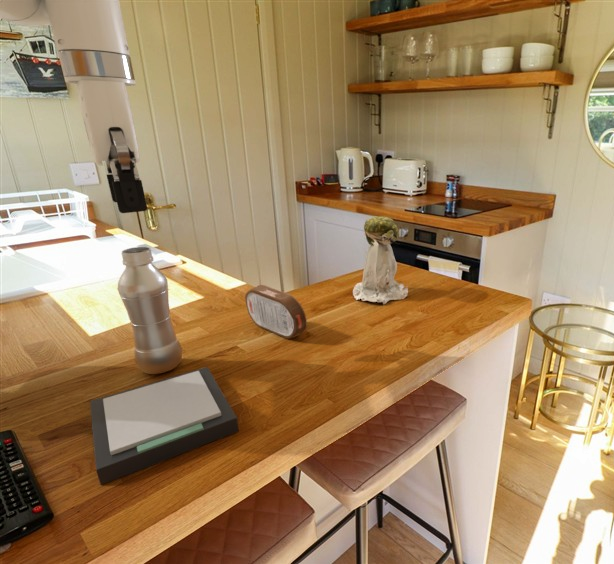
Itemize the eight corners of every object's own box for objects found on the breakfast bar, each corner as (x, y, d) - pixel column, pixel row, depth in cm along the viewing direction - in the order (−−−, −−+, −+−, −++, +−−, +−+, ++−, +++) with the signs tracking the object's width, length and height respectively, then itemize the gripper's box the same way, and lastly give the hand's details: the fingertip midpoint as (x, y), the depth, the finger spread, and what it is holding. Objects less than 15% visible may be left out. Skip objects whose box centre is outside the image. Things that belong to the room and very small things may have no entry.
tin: (309, 339, 79) (306, 297, 76) (296, 346, 76) (292, 303, 73) (258, 318, 87) (254, 279, 84) (245, 323, 84) (240, 284, 81)
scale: (100, 485, 47) (94, 465, 46) (93, 414, 58) (88, 397, 57) (239, 431, 55) (236, 413, 54) (209, 378, 66) (206, 363, 65)
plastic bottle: (193, 364, 70) (171, 248, 63) (152, 384, 64) (123, 259, 57) (170, 353, 73) (147, 241, 66) (129, 371, 68) (100, 251, 61)
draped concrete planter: (342, 292, 100) (339, 216, 94) (385, 280, 108) (385, 209, 102) (371, 308, 92) (370, 226, 85) (416, 294, 100) (418, 217, 93)
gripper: (62, 75, 58) (94, 200, 64) (61, 61, 45) (101, 220, 51) (126, 78, 62) (150, 195, 68) (142, 66, 49) (170, 213, 55)
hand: (129, 206), depth 60 cm, fingers open, 9 cm apart
